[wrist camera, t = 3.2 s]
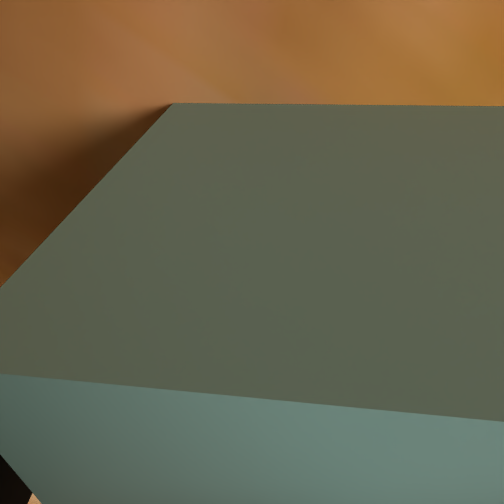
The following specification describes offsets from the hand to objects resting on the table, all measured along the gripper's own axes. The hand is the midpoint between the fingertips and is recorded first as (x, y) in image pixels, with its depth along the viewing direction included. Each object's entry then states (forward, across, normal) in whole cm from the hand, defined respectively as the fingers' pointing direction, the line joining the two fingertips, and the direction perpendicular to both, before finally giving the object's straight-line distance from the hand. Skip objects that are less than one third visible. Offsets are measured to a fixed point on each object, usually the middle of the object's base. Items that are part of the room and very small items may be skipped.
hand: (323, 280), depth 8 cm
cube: (+1, 0, 0) cm, 1 cm away
